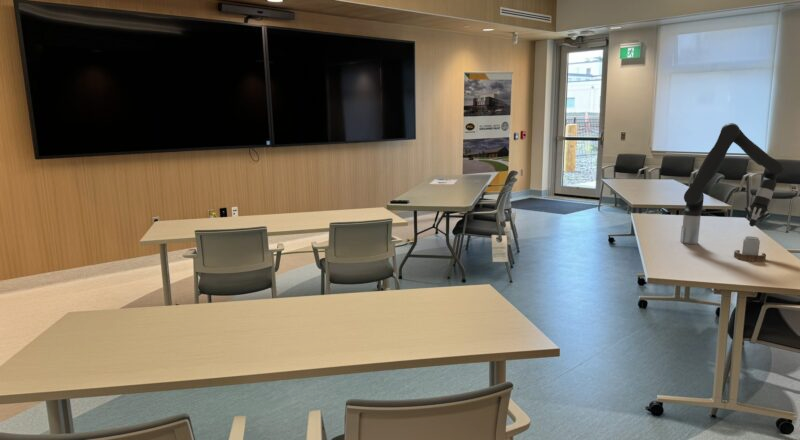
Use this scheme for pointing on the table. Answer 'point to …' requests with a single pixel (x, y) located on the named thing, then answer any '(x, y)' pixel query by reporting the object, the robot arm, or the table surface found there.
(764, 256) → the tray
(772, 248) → the table surface
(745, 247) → the can
